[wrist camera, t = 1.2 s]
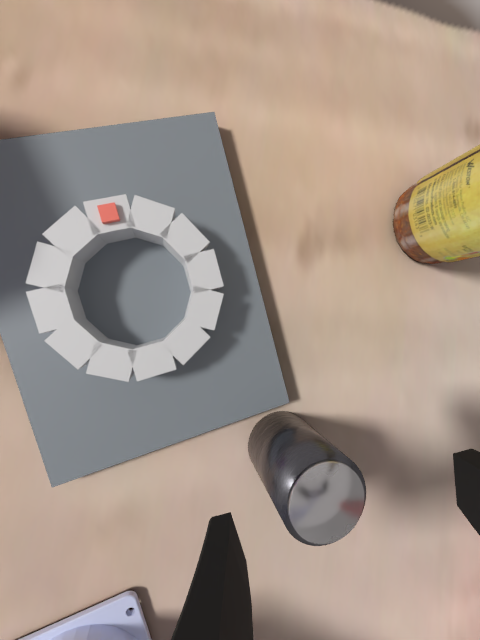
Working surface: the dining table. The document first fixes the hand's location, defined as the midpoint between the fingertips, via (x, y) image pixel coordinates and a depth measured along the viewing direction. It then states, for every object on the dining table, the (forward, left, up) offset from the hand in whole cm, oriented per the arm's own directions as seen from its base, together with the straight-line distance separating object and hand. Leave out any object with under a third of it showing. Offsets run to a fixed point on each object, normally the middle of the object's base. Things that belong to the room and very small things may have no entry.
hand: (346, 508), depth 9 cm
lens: (-3, -1, -10) cm, 11 cm away
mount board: (+9, +5, -10) cm, 15 cm away
